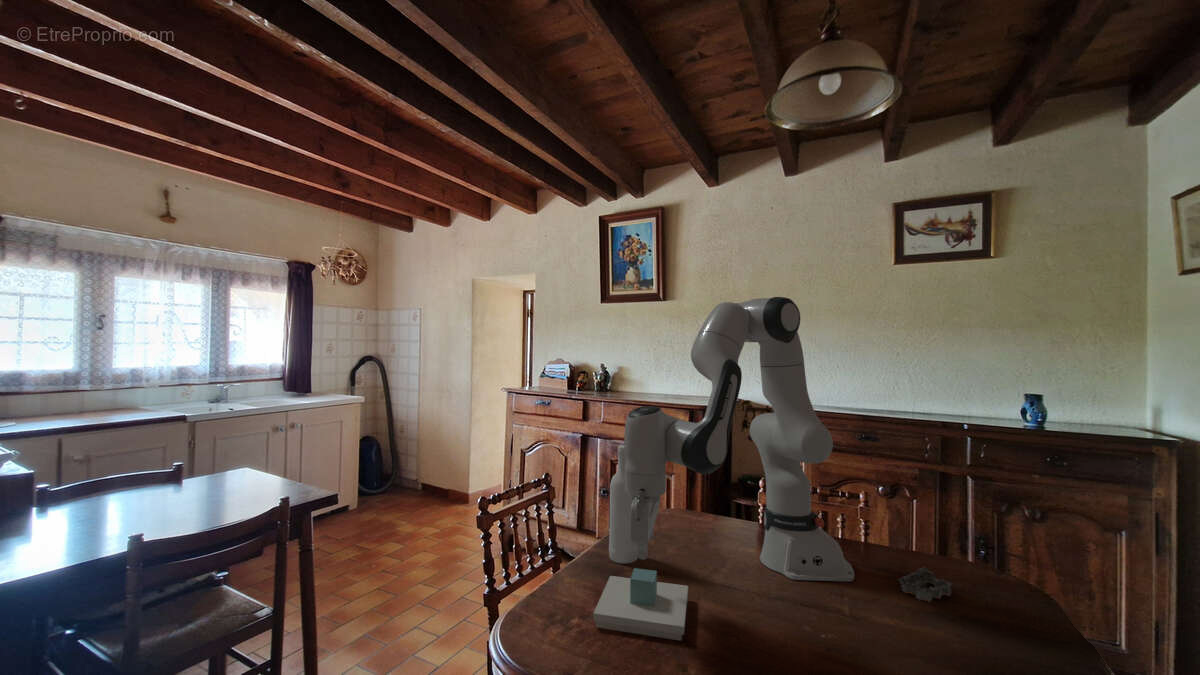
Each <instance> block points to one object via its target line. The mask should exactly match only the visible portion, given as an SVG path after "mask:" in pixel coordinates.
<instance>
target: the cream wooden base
mask: <svg viewBox="0 0 1200 675" xmlns="http://www.w3.org/2000/svg"><path fill="white" fill-rule="evenodd" d="M630 579H631V577H630V578H629V577H624V576H623V577H622V576H615V575H610V576H609V578H608V580H607V582H606V584H605V586H604V588H603V591H602V594H601V596H600V597H599V600H598V602H597V605H596V607H595V608H594V611H593V614H592V616H593V617H592V618H593V622H595V625H596V626H595V627H596V628H598V629H605V630H611V631H618V632H625V633H629V634H637V635H642V636H648V637H656V638H660V639H661V638H662V639H668V640H675V641H682V640H683V636H684V635H685V627H686V616H687V607H688V596H689V585H685V584H684V585H683V584H676V583H671V582H670V583H668V582H660V581H657V595H656V600H655V604H654V607H653V606H646V605H639V604H632V603H630Z"/></svg>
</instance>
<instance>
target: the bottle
mask: <svg viewBox="0 0 1200 675" xmlns="http://www.w3.org/2000/svg"><path fill="white" fill-rule="evenodd" d="M625 464H626V453H625V448H624V444H619V445H618V446H617V472H616V473H615V474H613V476H612V478H611V481H610V483H609V533H608V534H609V537H608V538H609V540H608V541H609V544H608V554H609V555H608V557H609V559H610V560H611V561H612V562H614V563H617V564H621V565H622V564H623V565H624V564H632V563H635V562H636V561H637V560H638V559H639V558H638V549H637V545H636V544H634V543H631V540H630V512H631V505H632V502H633V500H631V495H629V494H628V493H626V492H625Z"/></svg>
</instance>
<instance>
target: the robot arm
mask: <svg viewBox="0 0 1200 675" xmlns="http://www.w3.org/2000/svg"><path fill="white" fill-rule="evenodd" d="M800 325H801V313H800V309H799V307H798V306H797V305H796V303H795V302H794V301H793V299H790V298H789V297H784V296H783V297H782V296H773V297H767V298H766V297H763V298H762V297H761V298H754V299H751V300H746V301H743V302H739V303H738V302H736V303H735V302H732V301H731V302H730V301H728V302H727V301H726V302H725V301H723V302H721V303H718V304H717V305H715V306H714V308H713V309H712V310H711V312H710V313H709V315H708V316H707V317H706V319H705V321H703V324H702V326H701V328H700V329H699V331H698V334H697V335H696V338H695V340H694V341H693V344H692V348H691V350H690V359H691V363H692V364H693V366H694V368H695V370H697V372H698V373H699V374H700V375H701V376H703V377H704V378H706V379H708V380H709V381H710V383H711V386H712V387H711V388H712V389H711V392H710V395H709V400H708V403H707V407H706V410H705V413H704V417H703V418H702V419H701V420H700V421H699V422H694V421H693V422H692V421H687V420H684V419H679V418H677V417H674V416H671V415H669V414H667V413H666V412H665V411H663V410H662V408H660V407H659V406H656V405H655V406H654V405H647V406H639V407H635V408H634V409H632V410H631V411H629V413H627V416H626V419H625V424H624V436H623V437H624V439H623V440H624V442H623V443H624V444H623V445H624V448H625V453H626V464H625V492H626V493H628V494H629V495H631V500H633V502H632V505H631V512H630V540H631V543H634V544H636V545H637V549H638V559H640V560H647V558H648V544H649V543H650V541H652V540H653V537H654V525H655V524H656V520H657V515H658V513H659V510H660V503H661V496H663V495H664V494H666V492H667V480H666V479H667V474H666V473H667V472H666V471H667V470H666V469H667V468H666V464H667V463H669V462H670V463H673V464H675V465H678V466H682V467H685V468H687V469H690V470H692V471H693V472H696V473H698V474H699V475H709V474H712V473H714V472H716V471H717V470H718V469H720V467H722V465H723V464H724V463H725V461H726V459H727V455H728V452H729V450H728V449H729V440H730V439H729V438H730V431H731V429H732V428H731V426H732V423H733V419H734V415H735V411H736V408H737V407H736V406H737V403H738V398H739V394H740V390H741V386H742V385H741V384H742V378H743V376H742V374H743V373H742V368H741V366H740V365H739V358H740V355H741V353H742V350H743V348H744V345H745V343H757V344H758V345H759V366H760V367H759V368H760V378H761V389H762V390H761V391H762V394H763V397H764V398H765V399H766V401H767V402H768V403H769V404H770V406H771V408H772V410H773V412H767V413H761V414H758V415H756V416H755V417H754V418H753V419H752V421H751V423H750V427H749V435H750V438H751V440H752V441H753V443H754V444H755V446H756V448H757V450H758V453H759V455H760V459H761V463H762V466H763V471H764V475H765V476H764V477H765V490H766V491H765V492H766V494H765V496H766V497H765V500H766V501H765V502H766V505H764V511H763V525H764V528H765V530H764V536H763V537H764V539H763V544H762V549H761V552H760V555H759V560H760V562H761V563H762V565H763V566H766V568H768V569H770V570H772V571H775V572H777V573H780V574H782V575H783V576H785V577H787V578H788V579H791V580H792V581H793V580H795V581H823V582H826V581H827V582H853V581H855V578H856V576H855V570H854V569H853V567H852V565H851V563H850V562H849V561H847V559H845V558H844V553H843V550H842V548H841V546H840V544H839V543H838V542H837V540H835V539H834V538H833V537H832V535H830V534H828V533H827V532H826V531H825V530H824V529H823V528H824V526H825V521H824V520H823V518H822V517H821V516H819V515H818V514H817V513H816V512H815V511H814V510H812V492H811V491H812V485H811V482H810V478H809V477H808V476H807V475H806V473H805V472H804V470H803V468H802V465H801V463H805V464H821V463H823V462H825V461H826V460H827V459H828V458H829V457H830V456H831V453H832V451H833V448H834V441H833V436H832V433H831V432H830V431H829V429H828V428H827V427H826V426H825V425H824V424H823V423H822V421H821V420H820V419H819V416H818V415H817V413H816V411H815V409H814V406H813V404H812V401H811V399H810V397H809V391H808V387H807V386H808V385H807V378H806V377H807V376H806V369H805V368H806V367H805V358H804V353H803V346H802V342H801V338H800V336H799V332H798V331H799V328H800Z"/></svg>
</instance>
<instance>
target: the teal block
mask: <svg viewBox="0 0 1200 675" xmlns="http://www.w3.org/2000/svg"><path fill="white" fill-rule="evenodd" d="M630 578H631V579H630V603H632V604H639V605H646V606H653V607H654V604H655V600H656V595H657V582H658V571H657V570H652V569H643V568H637V567H634V568H633V570H632V574H631V577H630Z"/></svg>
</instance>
